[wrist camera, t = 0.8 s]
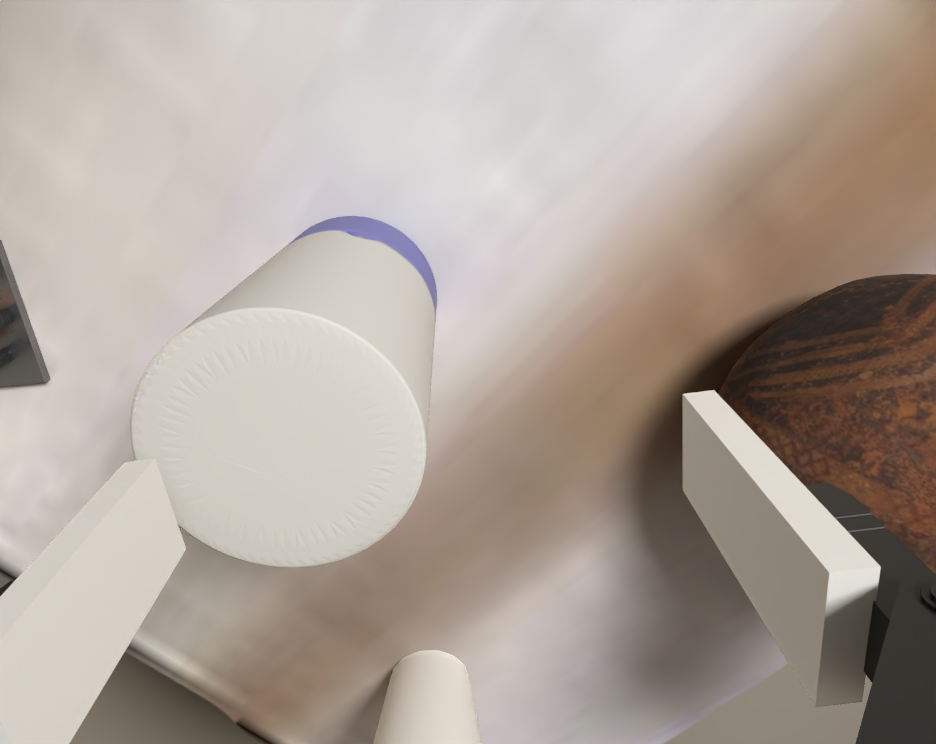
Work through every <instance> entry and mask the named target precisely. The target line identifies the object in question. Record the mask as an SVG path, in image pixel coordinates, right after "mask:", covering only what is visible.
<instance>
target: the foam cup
mask: <svg viewBox="0 0 936 744" xmlns="http://www.w3.org/2000/svg"><path fill="white" fill-rule="evenodd" d="M373 744H482V741H481V736H480V731H479V725H478V720H477V715H476V710H475V705H474V700H473V695H472V689H471V685H470V682H469V676H468V673H467V670H466V667H465V665H464V664H463V663H461V662H460V661H459V660H458V659H457V658H456V657H455V656H454V655H451V654H448V653H445V652H442V651H438V650H425V651H417V652H415V653H412V654H410V655H408V656H405V657H403V658H402V659H401V660H400V662H399V663H398V664H397V665H396V666H395V667H394V668H393V672H392V674H391V678H390V682H389V685H388V689H387V693H386V697H385V700H384V704H383V708H382V712H381V715H380V719H379V723H378V727H377V731H376V734H375V738H374V742H373Z"/></svg>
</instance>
